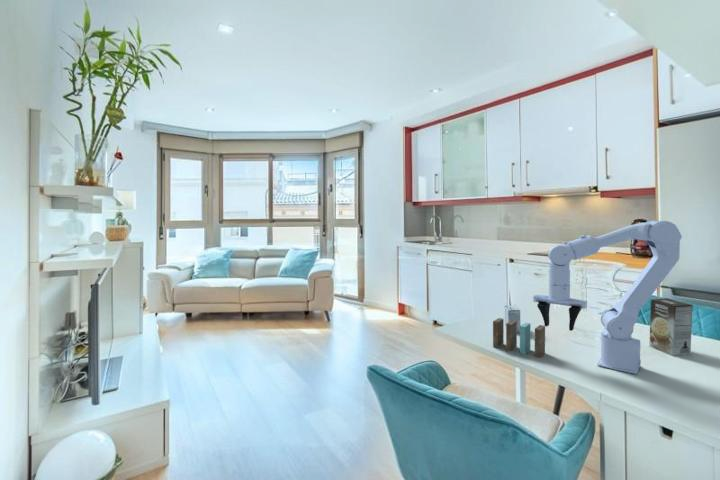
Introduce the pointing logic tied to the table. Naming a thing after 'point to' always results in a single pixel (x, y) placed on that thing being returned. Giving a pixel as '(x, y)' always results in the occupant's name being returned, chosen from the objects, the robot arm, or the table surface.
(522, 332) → the domino
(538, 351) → the domino
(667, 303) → the coffee box
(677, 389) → the table surface
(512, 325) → the domino
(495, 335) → the end domino
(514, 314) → the medicine box
